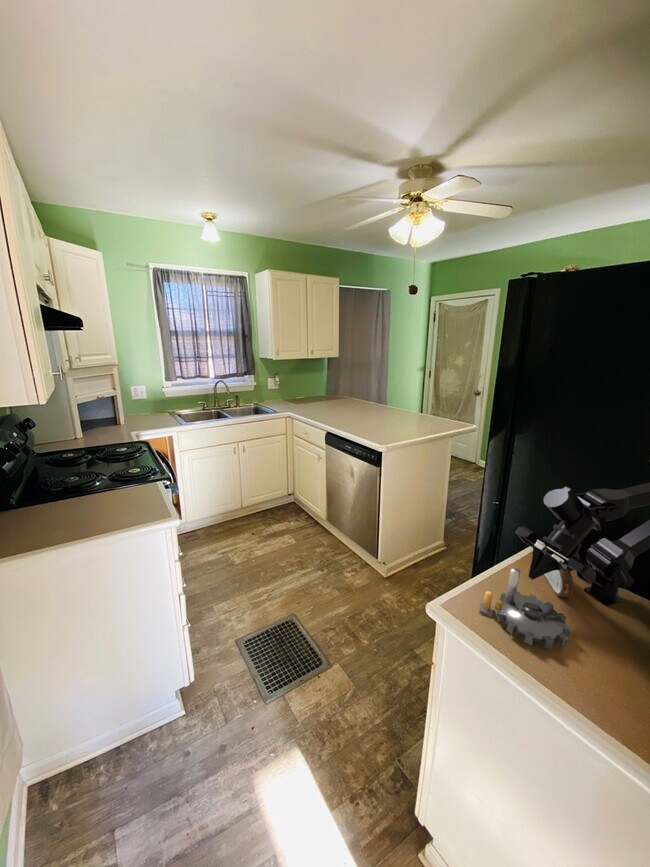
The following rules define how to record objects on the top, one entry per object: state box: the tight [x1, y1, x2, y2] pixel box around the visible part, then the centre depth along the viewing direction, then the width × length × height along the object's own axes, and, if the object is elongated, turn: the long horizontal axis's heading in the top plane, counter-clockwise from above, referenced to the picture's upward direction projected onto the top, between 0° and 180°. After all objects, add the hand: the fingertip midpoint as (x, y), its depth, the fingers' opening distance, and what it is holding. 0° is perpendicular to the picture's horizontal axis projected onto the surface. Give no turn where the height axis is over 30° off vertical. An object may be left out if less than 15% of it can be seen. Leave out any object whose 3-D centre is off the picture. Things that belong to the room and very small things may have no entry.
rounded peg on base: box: [478, 590, 494, 618], centre depth 88 cm, size 3×3×5 cm
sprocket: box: [494, 567, 572, 649], centre depth 83 cm, size 15×15×11 cm
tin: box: [543, 554, 575, 598], centre depth 99 cm, size 15×3×8 cm, turn 168°
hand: (530, 578), depth 89 cm, fingers closed
